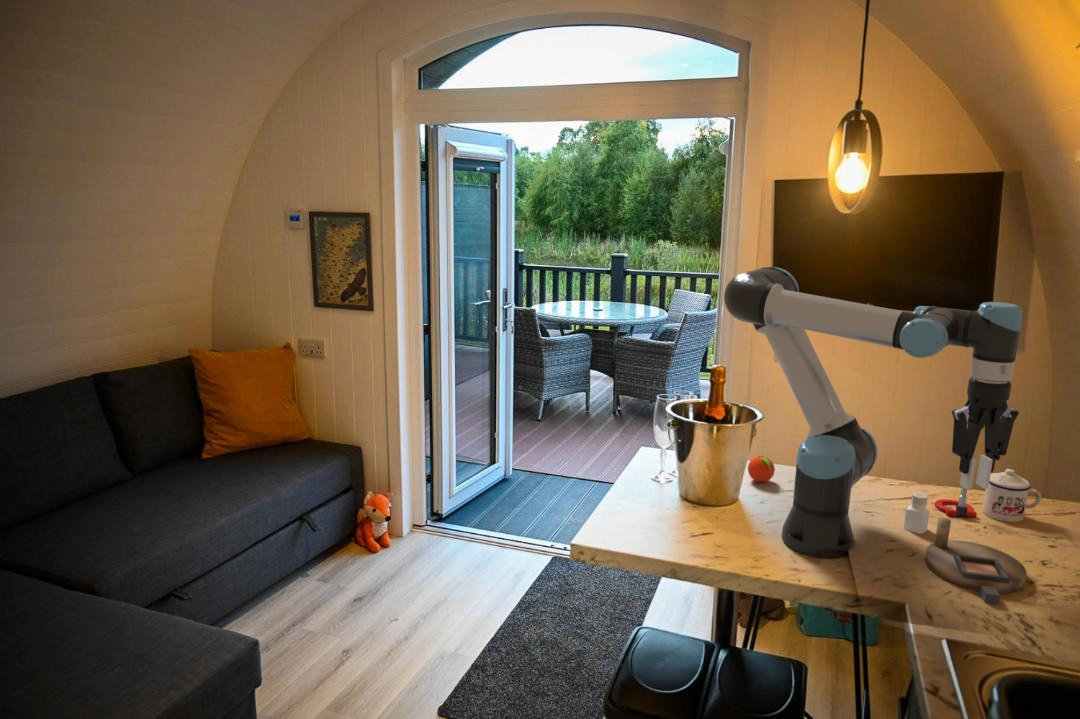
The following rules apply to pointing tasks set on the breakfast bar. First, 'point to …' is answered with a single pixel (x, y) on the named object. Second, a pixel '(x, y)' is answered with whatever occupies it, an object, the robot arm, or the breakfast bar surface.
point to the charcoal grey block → (990, 595)
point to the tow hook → (957, 506)
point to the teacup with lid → (1008, 497)
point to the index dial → (972, 563)
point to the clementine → (761, 469)
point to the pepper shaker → (917, 514)
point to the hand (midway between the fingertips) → (973, 486)
